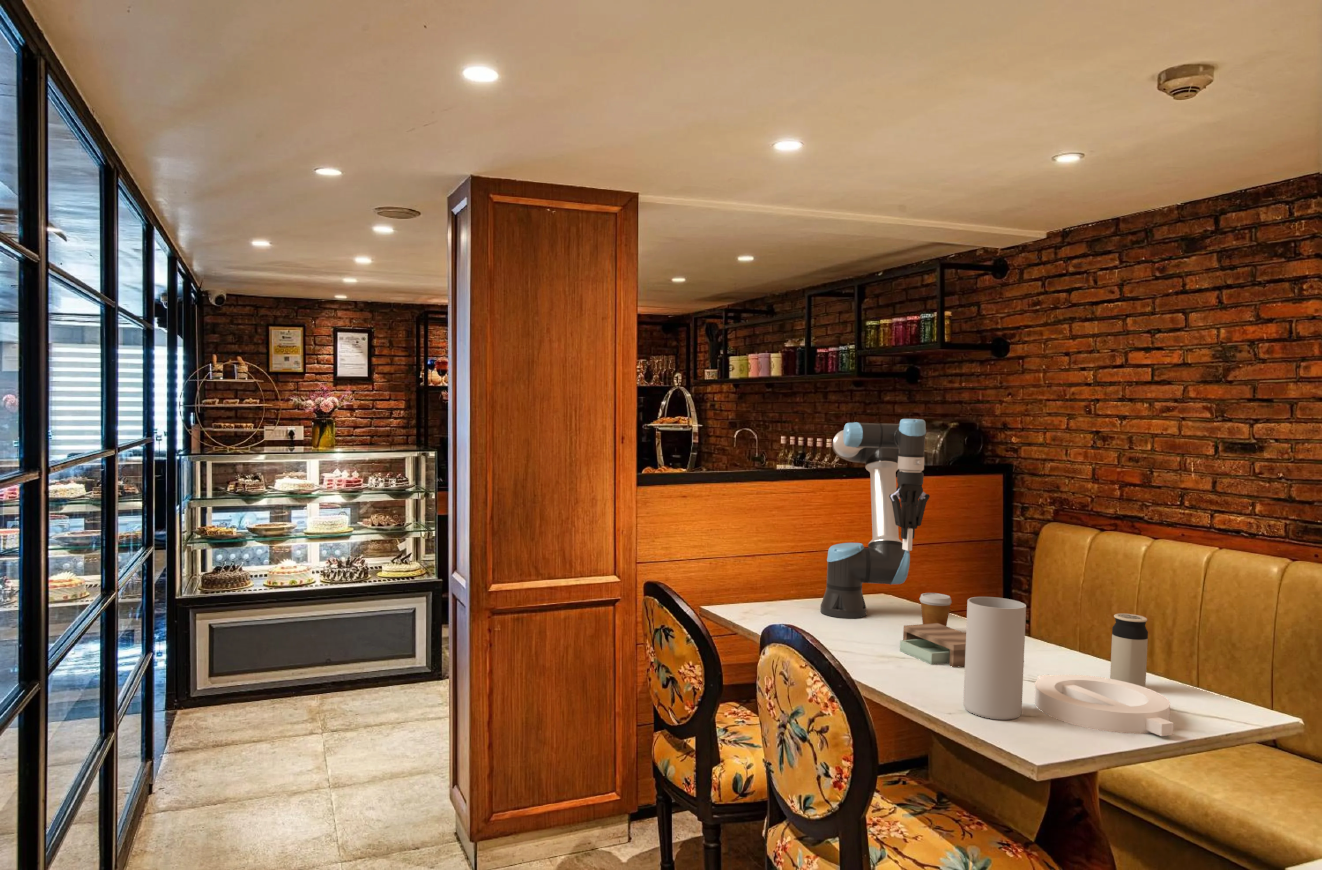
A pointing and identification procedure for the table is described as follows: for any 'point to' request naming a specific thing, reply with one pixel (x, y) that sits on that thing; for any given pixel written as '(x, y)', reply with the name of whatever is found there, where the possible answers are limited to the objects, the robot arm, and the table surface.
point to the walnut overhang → (940, 639)
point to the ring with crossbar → (1103, 704)
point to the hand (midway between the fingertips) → (907, 549)
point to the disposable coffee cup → (935, 608)
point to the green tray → (925, 651)
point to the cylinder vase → (994, 657)
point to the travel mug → (1129, 649)
